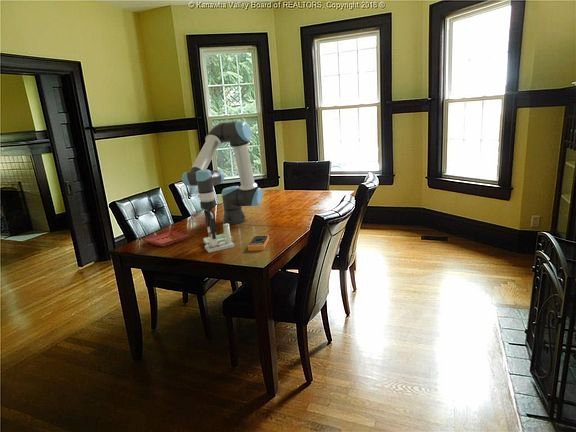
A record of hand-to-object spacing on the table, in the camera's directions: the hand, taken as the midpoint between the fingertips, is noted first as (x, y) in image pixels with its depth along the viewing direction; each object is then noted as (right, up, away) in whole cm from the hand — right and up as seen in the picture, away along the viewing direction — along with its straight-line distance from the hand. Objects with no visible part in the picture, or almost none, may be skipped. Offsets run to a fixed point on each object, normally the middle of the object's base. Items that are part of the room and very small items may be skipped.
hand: (213, 243), depth 198 cm
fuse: (+7, -2, +4) cm, 9 cm away
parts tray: (0, 0, +12) cm, 11 cm away
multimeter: (+24, -2, +1) cm, 24 cm away
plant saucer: (-31, -1, +21) cm, 38 cm away
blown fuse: (0, -3, +1) cm, 3 cm away
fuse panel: (+3, -2, +2) cm, 4 cm away
